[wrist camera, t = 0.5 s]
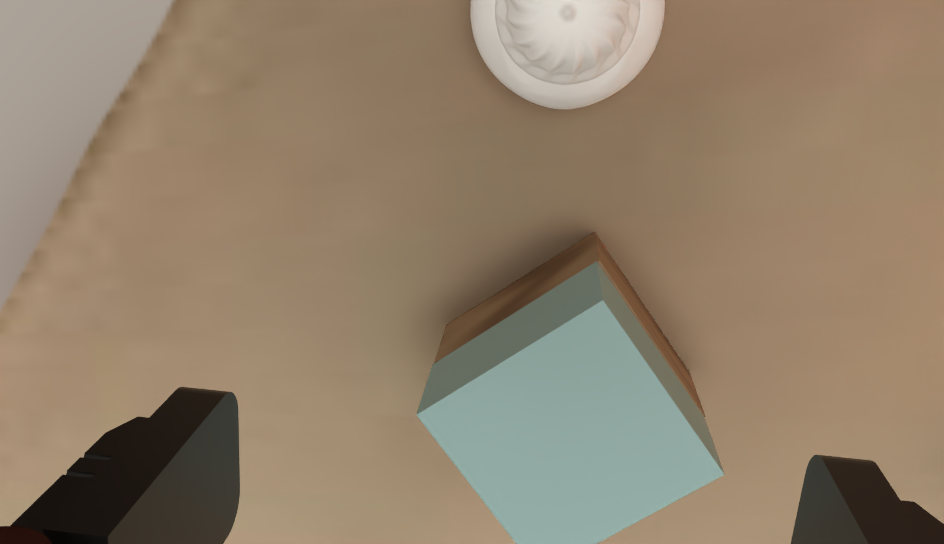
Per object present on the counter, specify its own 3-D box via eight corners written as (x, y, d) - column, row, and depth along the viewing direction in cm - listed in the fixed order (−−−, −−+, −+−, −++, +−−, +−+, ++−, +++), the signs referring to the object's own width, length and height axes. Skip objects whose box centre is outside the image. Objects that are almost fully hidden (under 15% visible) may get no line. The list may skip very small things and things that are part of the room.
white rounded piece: (481, -87, 31) (461, -108, 24) (660, -84, 30) (689, -105, 24) (477, 94, 33) (457, 121, 26) (645, 99, 32) (669, 128, 25)
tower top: (596, 261, 30) (602, 300, 26) (703, 416, 32) (724, 474, 28) (432, 364, 32) (416, 415, 28) (541, 507, 33) (539, 574, 29)
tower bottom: (594, 230, 34) (599, 260, 30) (689, 370, 35) (705, 416, 32) (447, 322, 36) (434, 362, 32) (543, 453, 37) (541, 506, 33)
